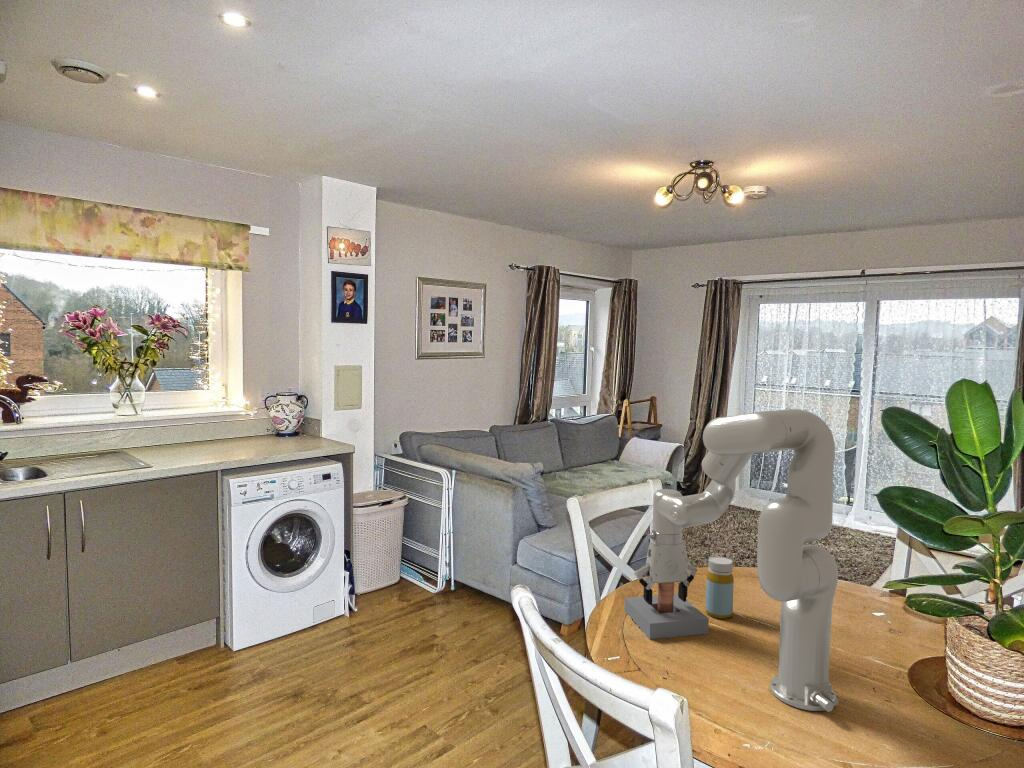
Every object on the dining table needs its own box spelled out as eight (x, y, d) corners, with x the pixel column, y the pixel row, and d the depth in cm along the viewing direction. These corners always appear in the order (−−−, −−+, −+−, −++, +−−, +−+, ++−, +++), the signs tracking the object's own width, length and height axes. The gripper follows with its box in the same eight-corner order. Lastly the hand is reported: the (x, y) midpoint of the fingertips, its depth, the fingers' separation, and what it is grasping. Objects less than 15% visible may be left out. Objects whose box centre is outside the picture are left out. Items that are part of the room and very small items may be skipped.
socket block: (708, 633, 156) (708, 618, 156) (649, 639, 153) (650, 623, 153) (678, 607, 172) (678, 593, 172) (624, 612, 168) (624, 598, 168)
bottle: (736, 620, 164) (737, 565, 164) (709, 619, 165) (711, 564, 164) (727, 609, 171) (729, 556, 170) (702, 608, 171) (703, 555, 171)
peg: (675, 625, 161) (676, 580, 160) (661, 626, 160) (662, 581, 159) (668, 618, 165) (669, 574, 164) (654, 620, 164) (655, 575, 163)
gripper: (642, 543, 155) (640, 609, 156) (704, 539, 159) (702, 604, 160) (630, 534, 163) (628, 598, 164) (690, 531, 167) (688, 593, 168)
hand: (665, 601), depth 162 cm, fingers open, 9 cm apart
